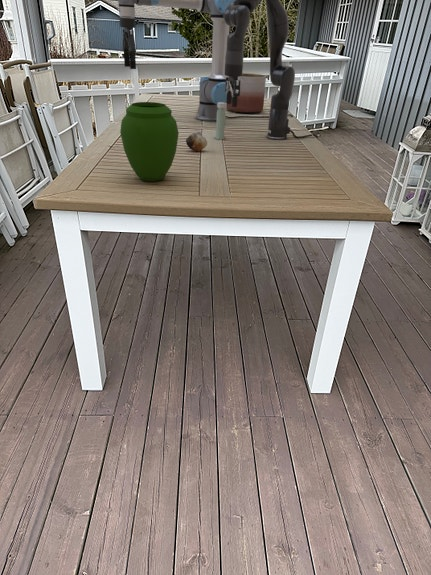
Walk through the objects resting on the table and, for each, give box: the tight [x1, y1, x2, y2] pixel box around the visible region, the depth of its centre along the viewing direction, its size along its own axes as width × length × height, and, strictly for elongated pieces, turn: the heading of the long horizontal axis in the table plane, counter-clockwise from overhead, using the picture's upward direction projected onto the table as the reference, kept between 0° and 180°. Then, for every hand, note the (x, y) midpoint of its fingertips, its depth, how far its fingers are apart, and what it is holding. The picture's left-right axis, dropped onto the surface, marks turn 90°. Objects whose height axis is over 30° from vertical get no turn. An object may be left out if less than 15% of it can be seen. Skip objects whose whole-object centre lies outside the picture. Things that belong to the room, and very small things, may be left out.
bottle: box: [215, 108, 226, 140], centre depth 202 cm, size 4×4×16 cm
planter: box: [225, 72, 267, 114], centre depth 275 cm, size 25×25×22 cm
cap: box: [217, 102, 226, 109], centre depth 198 cm, size 4×4×2 cm
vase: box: [119, 101, 179, 182], centre depth 140 cm, size 20×20×24 cm
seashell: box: [185, 131, 208, 152], centre depth 181 cm, size 10×6×8 cm, turn 97°
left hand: (130, 67), depth 208 cm, fingers open, 13 cm apart
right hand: (231, 105), depth 179 cm, fingers open, 8 cm apart
